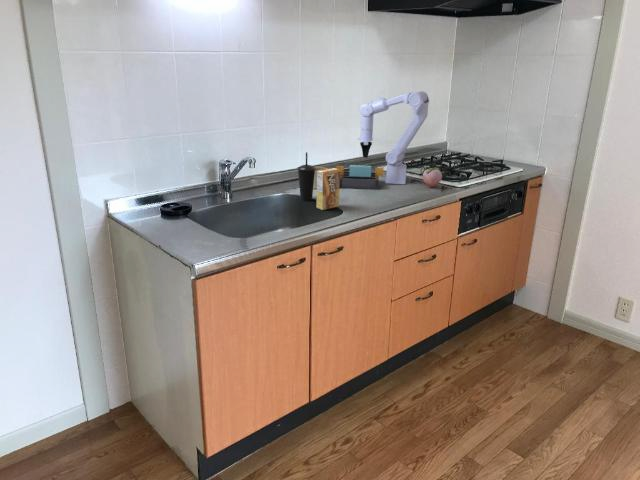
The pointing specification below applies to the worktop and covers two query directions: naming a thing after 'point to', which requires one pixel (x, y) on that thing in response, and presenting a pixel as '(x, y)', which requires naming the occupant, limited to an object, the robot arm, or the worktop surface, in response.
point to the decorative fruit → (432, 176)
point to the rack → (359, 180)
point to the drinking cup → (306, 181)
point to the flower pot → (316, 176)
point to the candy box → (328, 188)
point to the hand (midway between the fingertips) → (365, 157)
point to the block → (360, 171)
